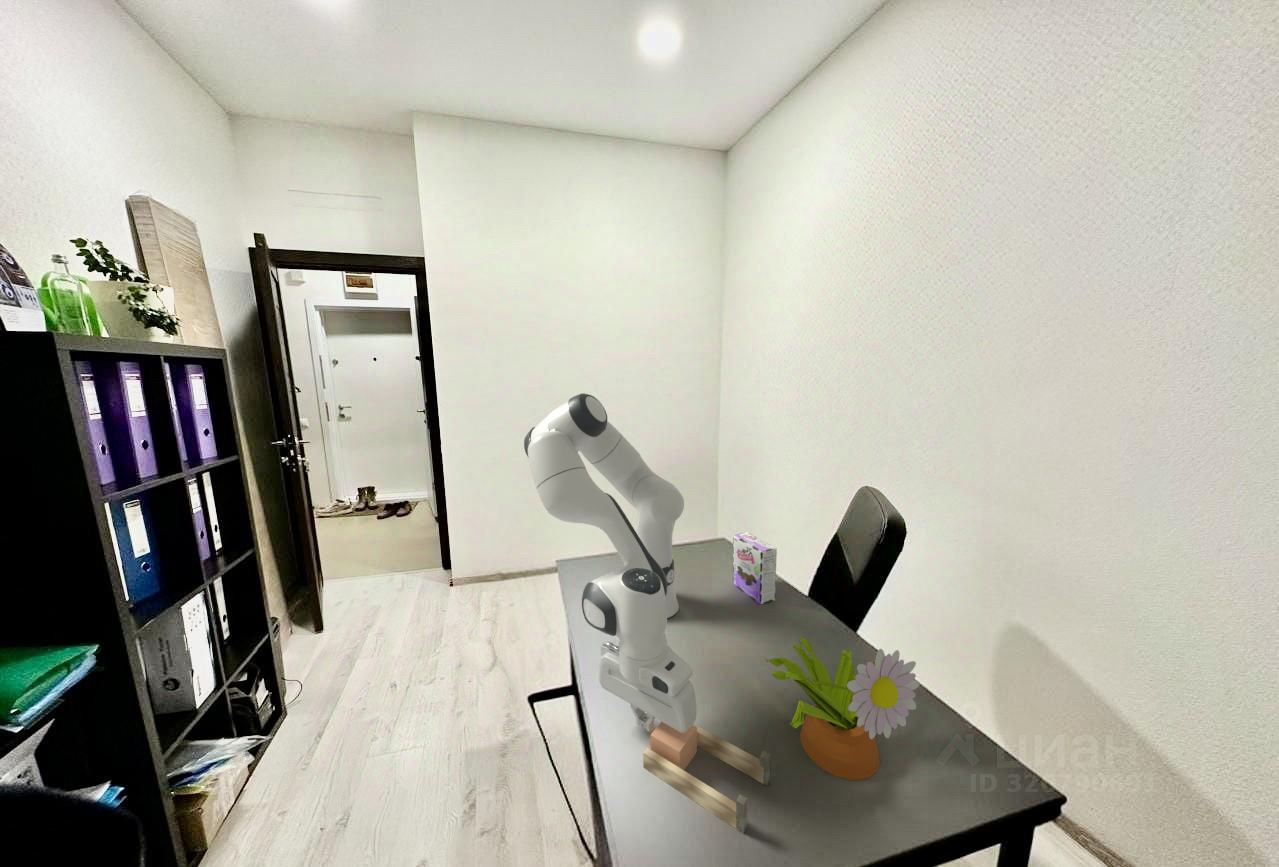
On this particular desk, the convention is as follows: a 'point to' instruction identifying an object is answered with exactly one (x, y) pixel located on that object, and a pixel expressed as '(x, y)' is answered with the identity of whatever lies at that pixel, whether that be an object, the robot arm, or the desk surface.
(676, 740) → the block
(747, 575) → the candy box
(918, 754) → the desk surface
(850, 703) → the decorative plant
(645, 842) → the desk surface
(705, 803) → the chute
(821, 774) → the desk surface
